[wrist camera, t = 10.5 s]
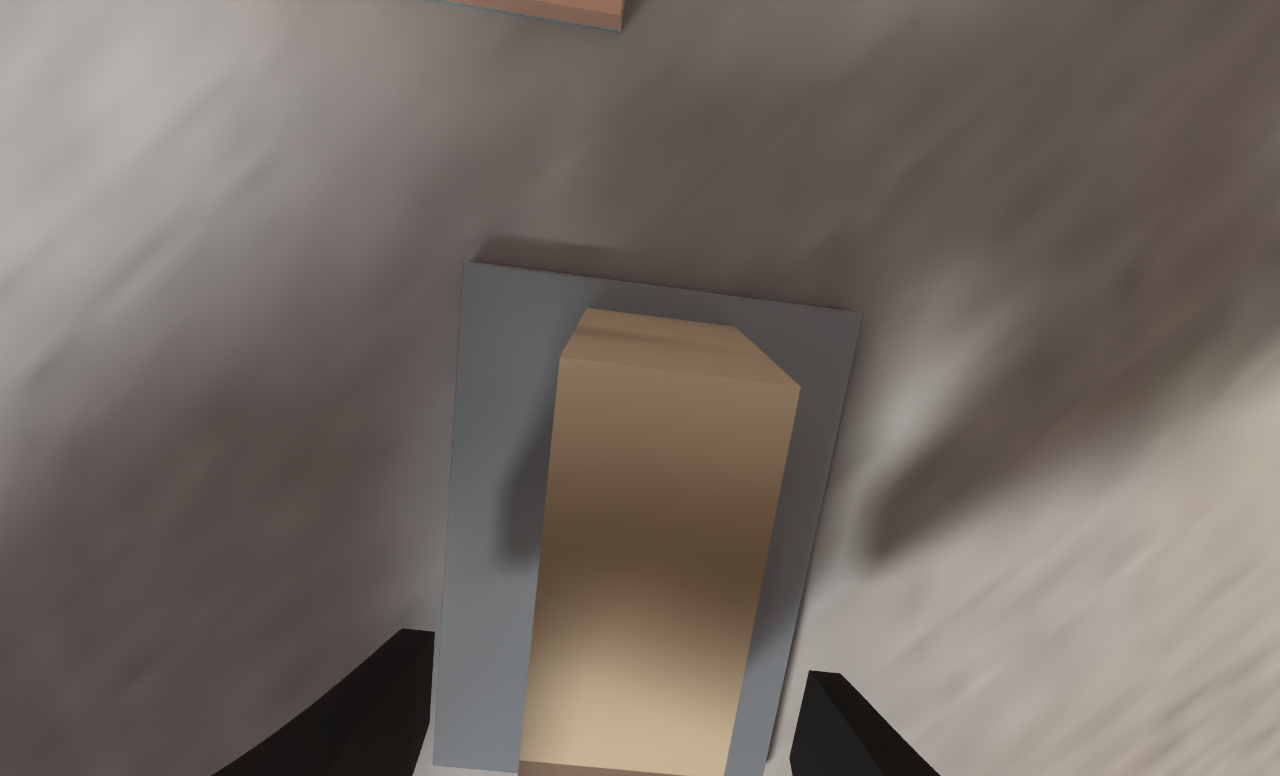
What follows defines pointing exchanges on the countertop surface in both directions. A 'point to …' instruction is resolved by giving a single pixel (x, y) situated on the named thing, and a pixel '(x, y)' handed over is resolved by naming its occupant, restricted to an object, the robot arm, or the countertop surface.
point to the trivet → (517, 482)
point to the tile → (558, 10)
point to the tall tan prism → (652, 545)
